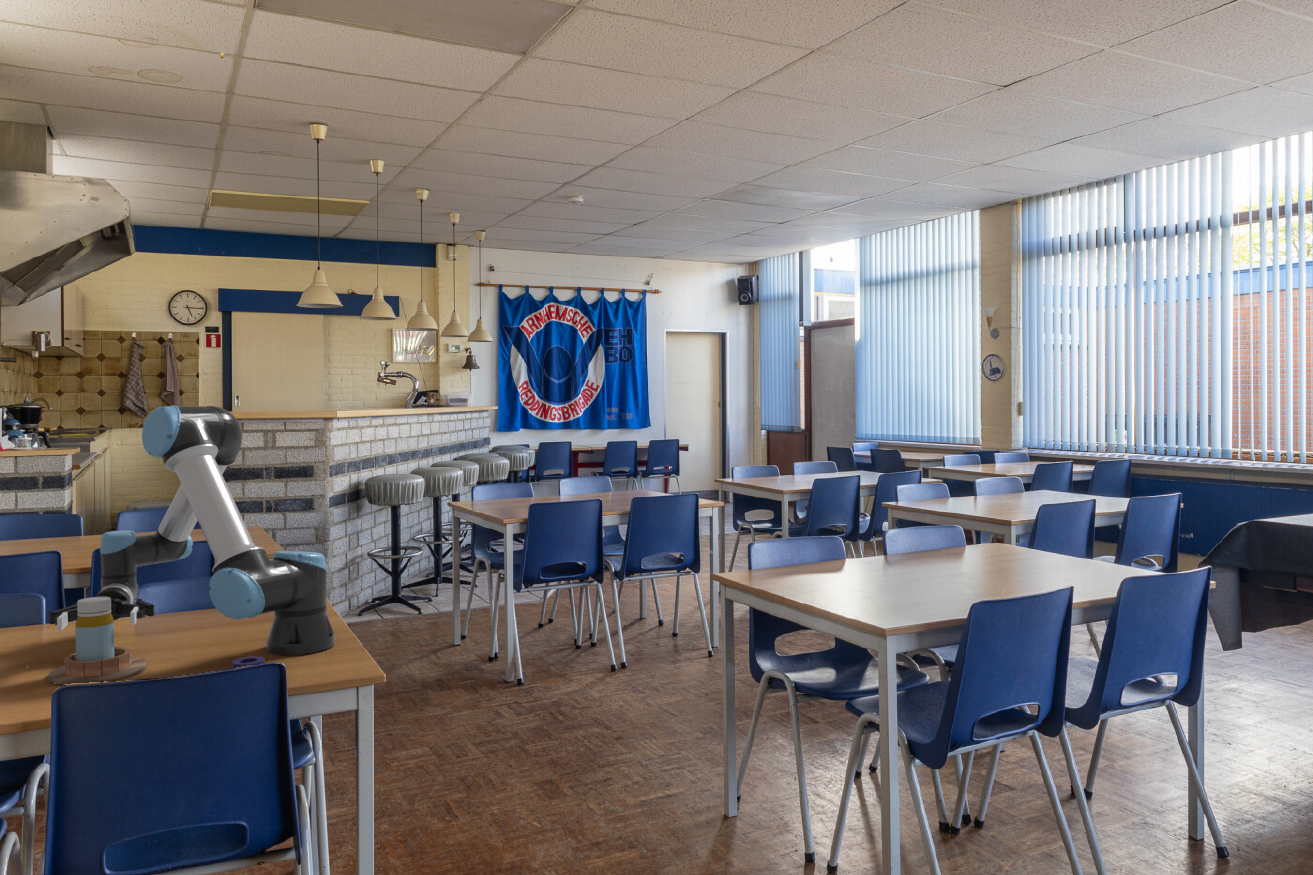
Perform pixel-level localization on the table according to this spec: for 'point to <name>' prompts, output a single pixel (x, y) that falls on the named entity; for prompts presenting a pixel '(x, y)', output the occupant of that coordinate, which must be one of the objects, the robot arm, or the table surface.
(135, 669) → the bottle holder
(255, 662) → the lever
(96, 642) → the bottle
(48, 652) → the table surface
